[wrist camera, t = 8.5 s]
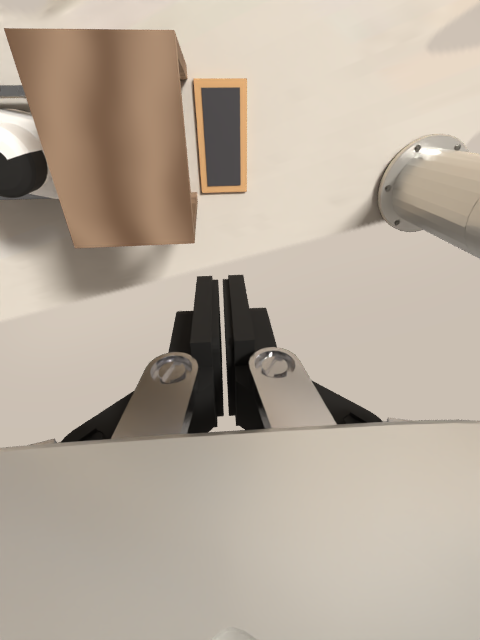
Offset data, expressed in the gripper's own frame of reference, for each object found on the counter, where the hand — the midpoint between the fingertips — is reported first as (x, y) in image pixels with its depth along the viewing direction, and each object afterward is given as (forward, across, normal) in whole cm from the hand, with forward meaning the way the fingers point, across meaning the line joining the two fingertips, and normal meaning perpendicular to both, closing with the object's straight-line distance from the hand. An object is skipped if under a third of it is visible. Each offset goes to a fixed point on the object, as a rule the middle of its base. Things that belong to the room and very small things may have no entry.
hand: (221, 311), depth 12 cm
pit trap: (+34, -1, -4) cm, 34 cm away
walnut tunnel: (+34, +8, -4) cm, 35 cm away
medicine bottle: (+34, +20, -3) cm, 39 cm away
